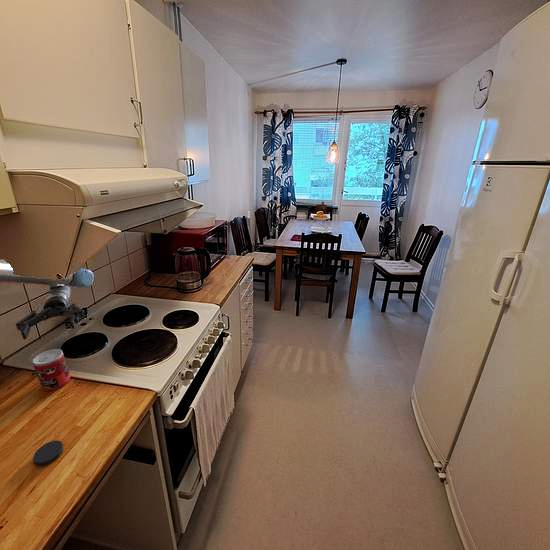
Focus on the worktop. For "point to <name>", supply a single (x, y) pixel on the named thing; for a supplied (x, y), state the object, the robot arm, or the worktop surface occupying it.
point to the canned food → (51, 369)
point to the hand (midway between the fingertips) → (48, 330)
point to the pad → (48, 453)
